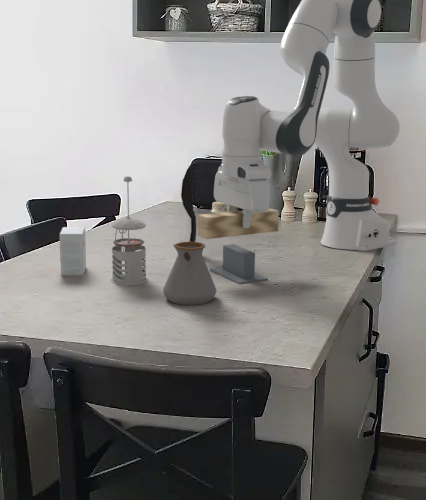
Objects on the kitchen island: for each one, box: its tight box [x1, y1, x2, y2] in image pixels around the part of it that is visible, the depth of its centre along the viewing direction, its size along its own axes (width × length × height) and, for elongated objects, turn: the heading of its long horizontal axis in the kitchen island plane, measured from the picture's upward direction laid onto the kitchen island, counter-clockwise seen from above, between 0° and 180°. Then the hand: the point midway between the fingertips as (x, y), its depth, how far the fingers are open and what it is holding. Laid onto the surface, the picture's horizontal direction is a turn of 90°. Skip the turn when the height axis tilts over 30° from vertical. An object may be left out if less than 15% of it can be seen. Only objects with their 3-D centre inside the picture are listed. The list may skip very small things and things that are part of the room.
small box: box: [59, 226, 87, 276], centre depth 183 cm, size 8×6×10 cm
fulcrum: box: [209, 243, 269, 285], centre depth 181 cm, size 8×14×7 cm, turn 29°
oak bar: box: [197, 207, 280, 240], centre depth 178 cm, size 20×4×5 cm, turn 120°
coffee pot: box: [162, 241, 217, 306], centre depth 155 cm, size 21×12×15 cm, turn 178°
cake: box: [210, 201, 240, 213], centre depth 264 cm, size 10×10×5 cm
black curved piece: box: [180, 161, 200, 242], centre depth 200 cm, size 8×4×25 cm, turn 166°
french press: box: [109, 175, 149, 286], centre depth 175 cm, size 10×12×25 cm
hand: (239, 225), depth 179 cm, fingers closed on oak bar, 4 cm apart
